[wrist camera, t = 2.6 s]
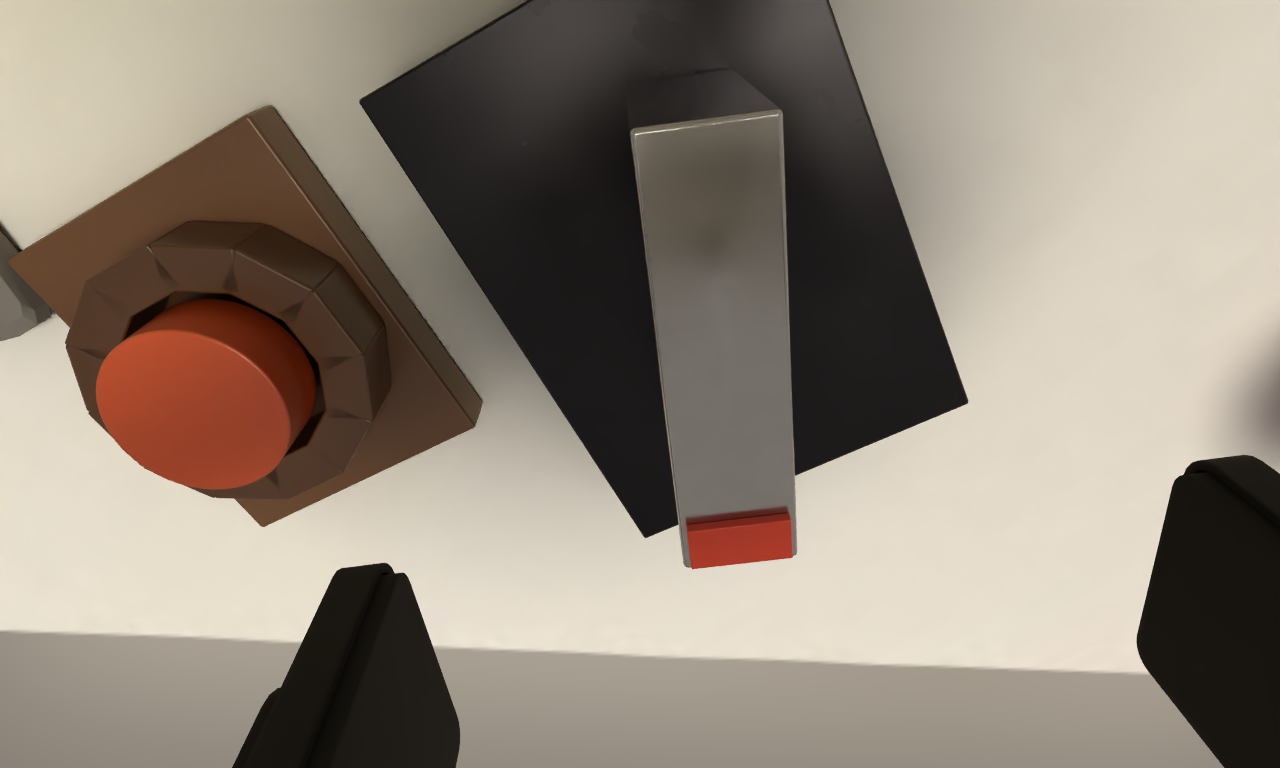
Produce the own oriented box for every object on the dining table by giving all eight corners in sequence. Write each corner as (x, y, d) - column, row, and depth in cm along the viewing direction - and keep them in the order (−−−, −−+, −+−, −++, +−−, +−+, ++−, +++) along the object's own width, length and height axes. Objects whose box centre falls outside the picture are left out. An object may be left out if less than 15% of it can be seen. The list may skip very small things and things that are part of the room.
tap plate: (391, 83, 19) (356, 101, 17) (753, -131, 17) (777, -148, 15) (641, 480, 26) (645, 539, 23) (930, 355, 24) (970, 403, 21)
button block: (41, 243, 21) (-56, 289, 18) (272, 103, 20) (208, 128, 16) (280, 500, 25) (233, 573, 22) (483, 402, 24) (464, 466, 21)
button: (101, 344, 19) (51, 380, 18) (238, 267, 18) (200, 298, 17) (222, 471, 21) (187, 515, 19) (352, 407, 20) (328, 447, 19)
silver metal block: (624, 83, 17) (628, 132, 12) (734, 68, 17) (786, 111, 12) (668, 429, 21) (685, 577, 16) (754, 419, 21) (800, 565, 16)
